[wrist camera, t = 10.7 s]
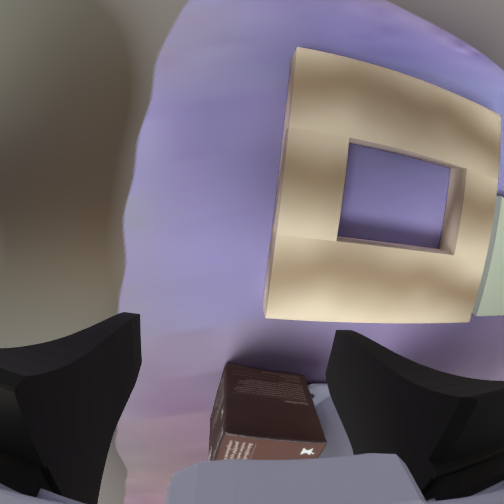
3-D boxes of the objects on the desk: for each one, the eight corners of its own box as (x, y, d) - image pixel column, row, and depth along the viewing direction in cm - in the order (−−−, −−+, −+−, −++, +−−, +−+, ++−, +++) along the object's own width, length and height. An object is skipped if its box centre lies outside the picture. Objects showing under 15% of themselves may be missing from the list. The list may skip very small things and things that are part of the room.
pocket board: (455, 312, 22) (468, 322, 20) (262, 305, 21) (265, 318, 19) (484, 117, 19) (500, 115, 17) (291, 58, 17) (297, 46, 16)
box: (225, 359, 22) (224, 431, 15) (306, 373, 23) (331, 441, 15) (209, 419, 23) (205, 490, 16) (281, 430, 24) (295, 498, 17)
